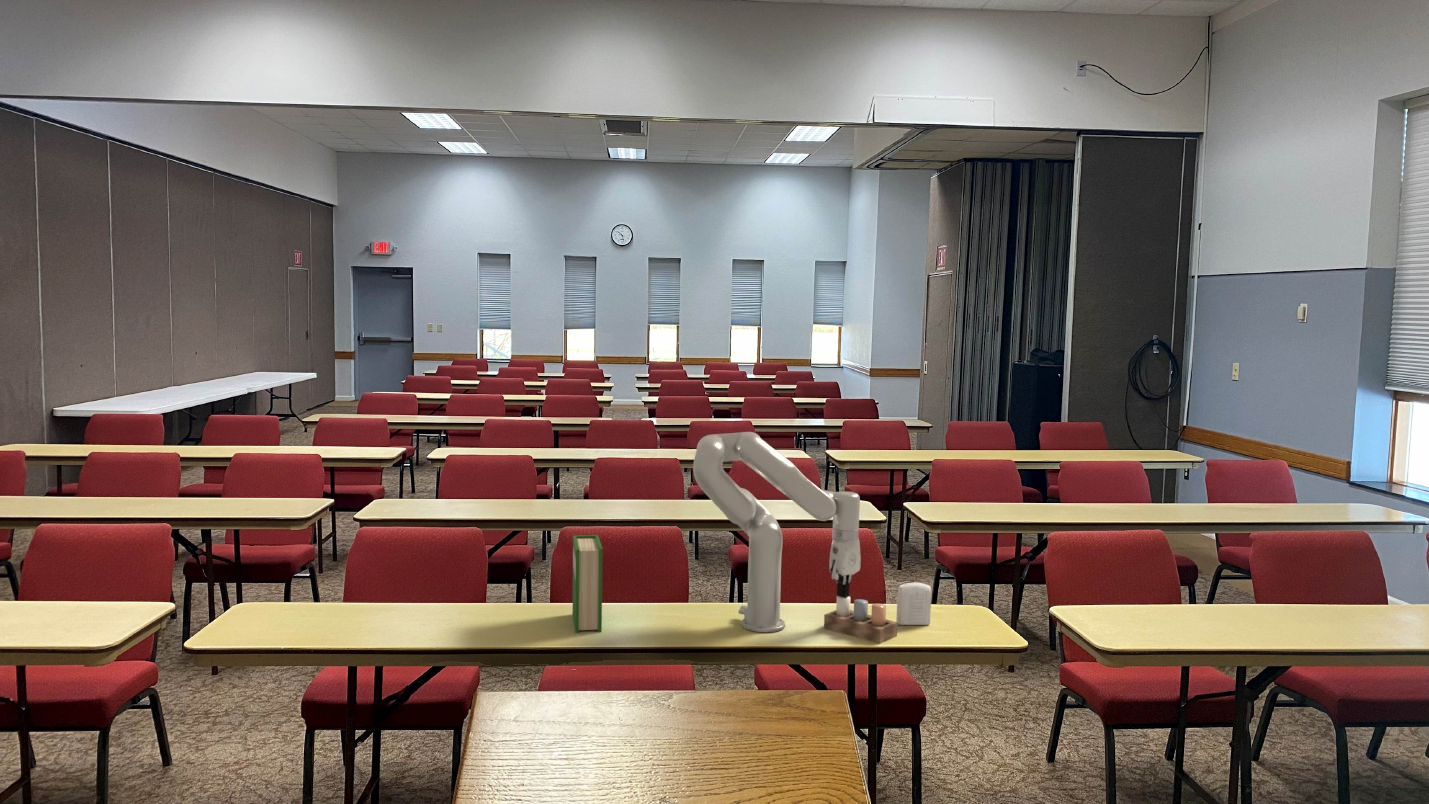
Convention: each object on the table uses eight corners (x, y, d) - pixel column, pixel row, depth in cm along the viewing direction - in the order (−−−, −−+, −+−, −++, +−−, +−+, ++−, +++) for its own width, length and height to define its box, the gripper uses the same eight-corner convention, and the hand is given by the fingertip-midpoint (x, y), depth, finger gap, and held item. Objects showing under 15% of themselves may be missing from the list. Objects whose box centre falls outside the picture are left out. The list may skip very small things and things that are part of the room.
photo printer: (927, 621, 274) (928, 580, 273) (932, 625, 270) (933, 584, 269) (894, 621, 273) (895, 581, 272) (898, 626, 268) (900, 585, 267)
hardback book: (601, 632, 258) (602, 548, 256) (575, 633, 256) (576, 549, 254) (597, 613, 275) (598, 535, 273) (572, 614, 273) (573, 535, 272)
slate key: (850, 625, 262) (851, 601, 262) (858, 621, 265) (859, 598, 265) (862, 628, 260) (863, 604, 259) (869, 625, 263) (870, 601, 262)
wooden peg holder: (823, 627, 266) (824, 614, 265) (841, 621, 272) (841, 607, 272) (880, 643, 253) (880, 629, 253) (896, 636, 260) (897, 622, 259)
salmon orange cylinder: (868, 629, 258) (869, 605, 258) (875, 626, 261) (876, 602, 261) (880, 633, 256) (881, 608, 255) (887, 629, 259) (888, 605, 258)
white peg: (833, 620, 266) (834, 596, 266) (841, 617, 269) (841, 594, 269) (844, 623, 264) (845, 599, 263) (852, 620, 267) (853, 597, 266)
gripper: (841, 540, 256) (839, 604, 258) (870, 533, 268) (867, 594, 269) (819, 536, 262) (817, 598, 263) (848, 528, 273) (846, 588, 274)
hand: (842, 596), depth 266 cm, fingers closed
